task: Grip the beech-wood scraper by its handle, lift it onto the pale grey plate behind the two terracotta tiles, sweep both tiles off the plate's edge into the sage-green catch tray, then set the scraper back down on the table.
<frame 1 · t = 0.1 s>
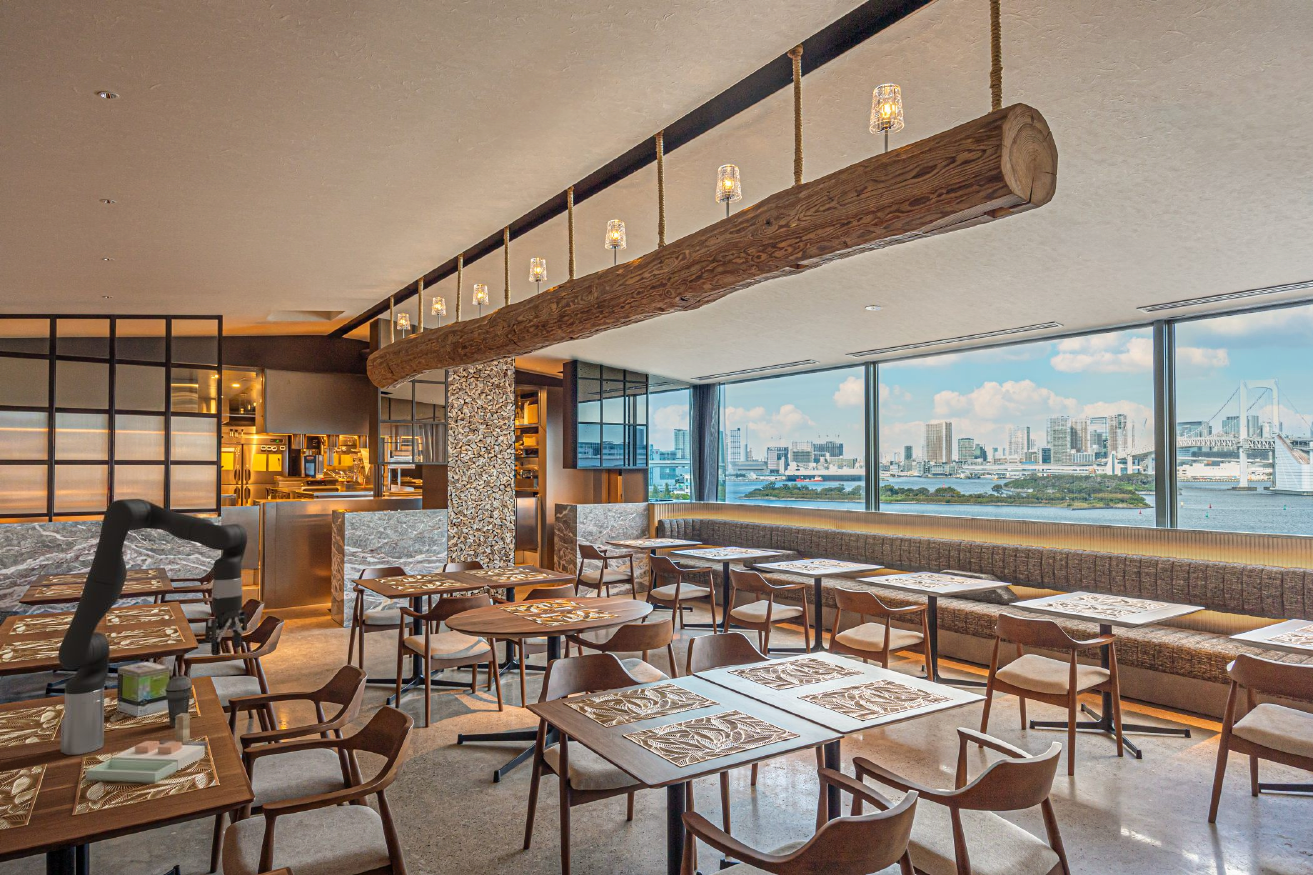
hand: (226, 651, 215), 29 cm above the table, tool pointing down, fingers open, 8 cm apart
catch tray: (132, 775, 199), on the table
tile b: (170, 750, 209), point 3 cm above the table, touching stone plate
tile a: (147, 750, 209), point 3 cm above the table, touching stone plate
scraper: (182, 749, 218), on the table
stone plate: (158, 762, 208), on the table
beverage cup: (178, 725, 239), on the table
tea box: (142, 710, 255), on the table
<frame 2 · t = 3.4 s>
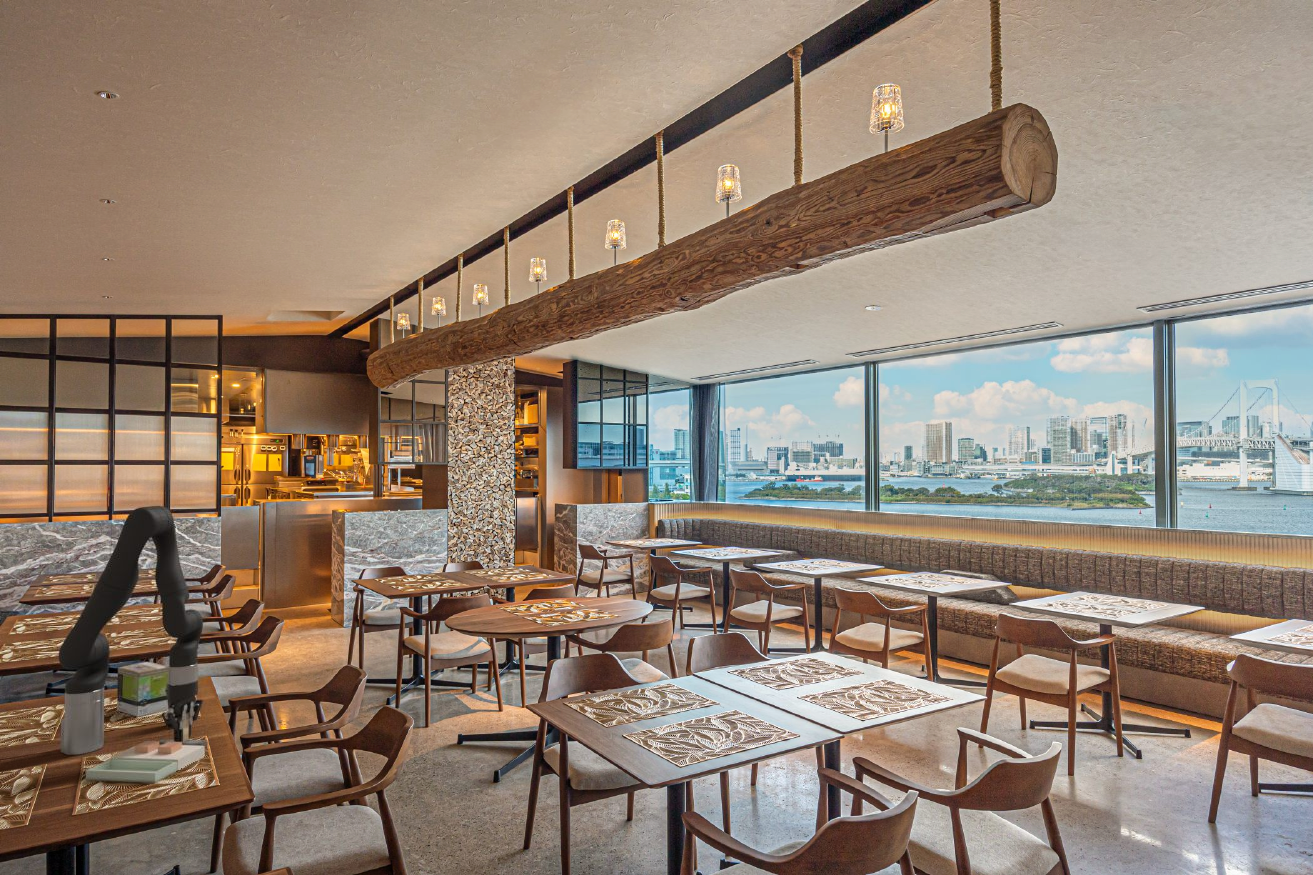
hand: (182, 739, 218), 3 cm above the table, tool pointing down, fingers closed on scraper, 2 cm apart
scraper: (181, 748, 218), on the table, touching gripper
everything else where it was.
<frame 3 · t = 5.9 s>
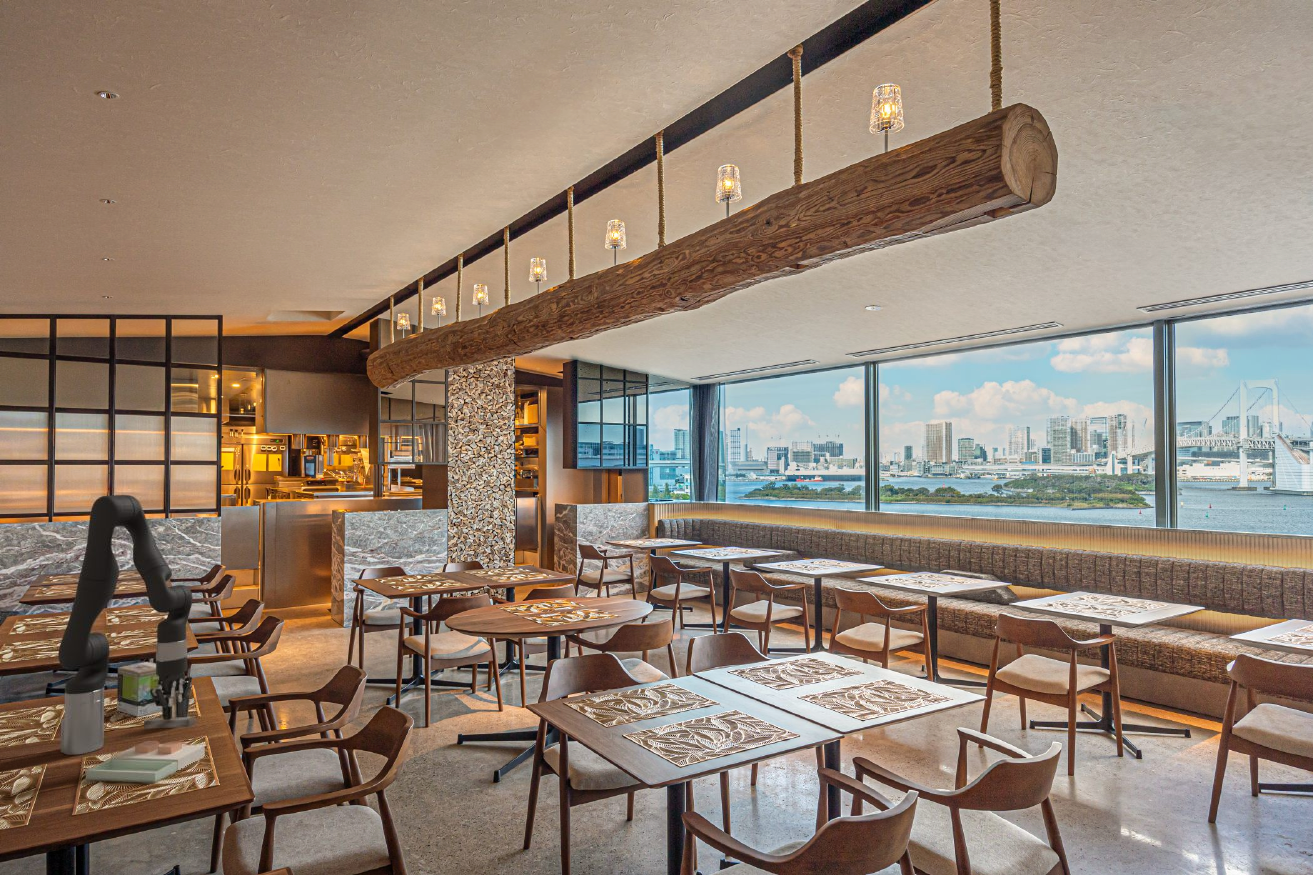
hand: (171, 717, 214), 11 cm above the table, tool pointing down, fingers closed on scraper, 2 cm apart
scraper: (169, 726, 214), point 8 cm above the table, touching gripper
everything else where it was.
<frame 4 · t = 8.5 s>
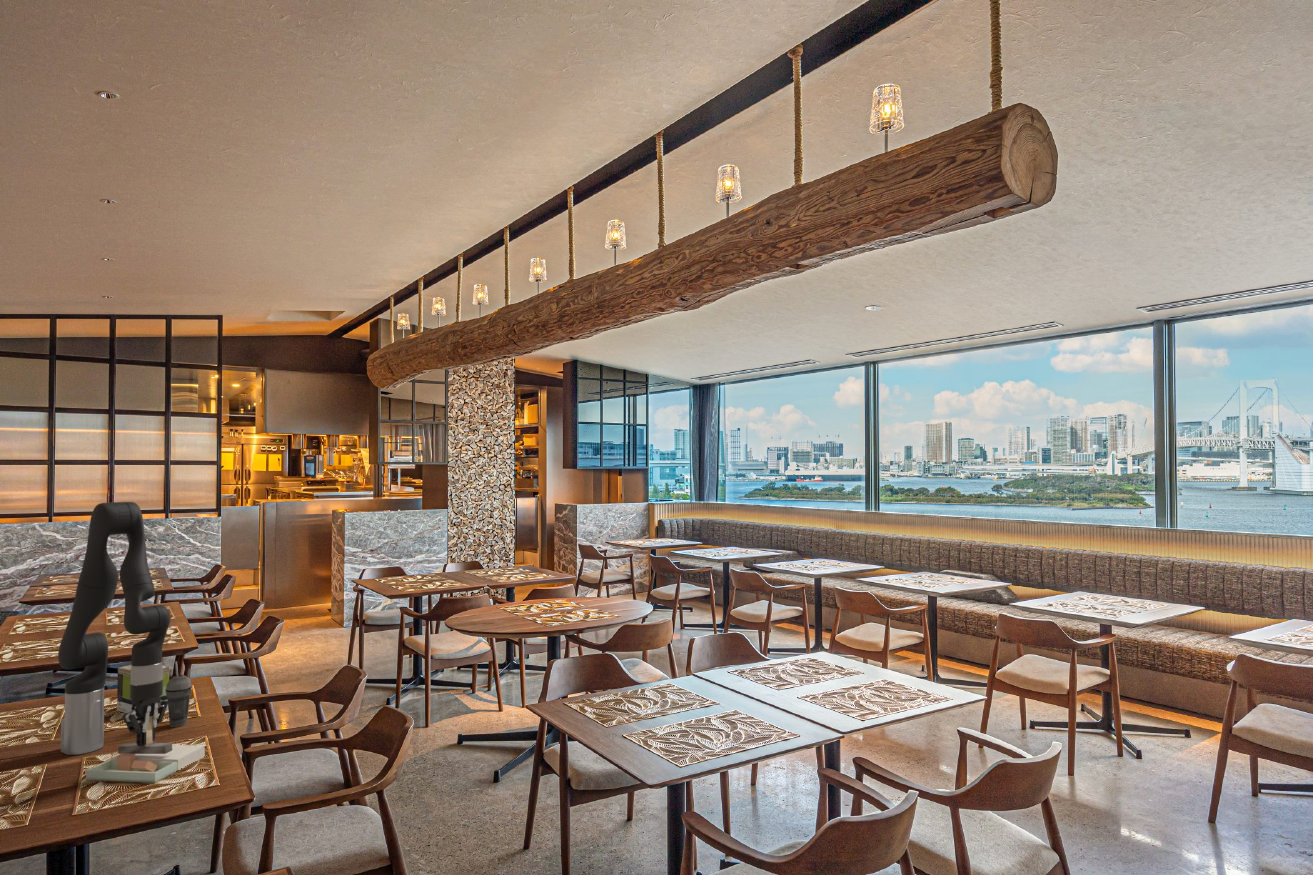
hand: (145, 743, 205), 6 cm above the table, tool pointing down, fingers closed on scraper, 2 cm apart
tile b: (146, 762, 200), point 3 cm above the table, tilted 141°
tile a: (128, 760, 203), point 2 cm above the table, tilted 90°, touching catch tray
scraper: (145, 752, 205), point 4 cm above the table, touching gripper
everything else where it was.
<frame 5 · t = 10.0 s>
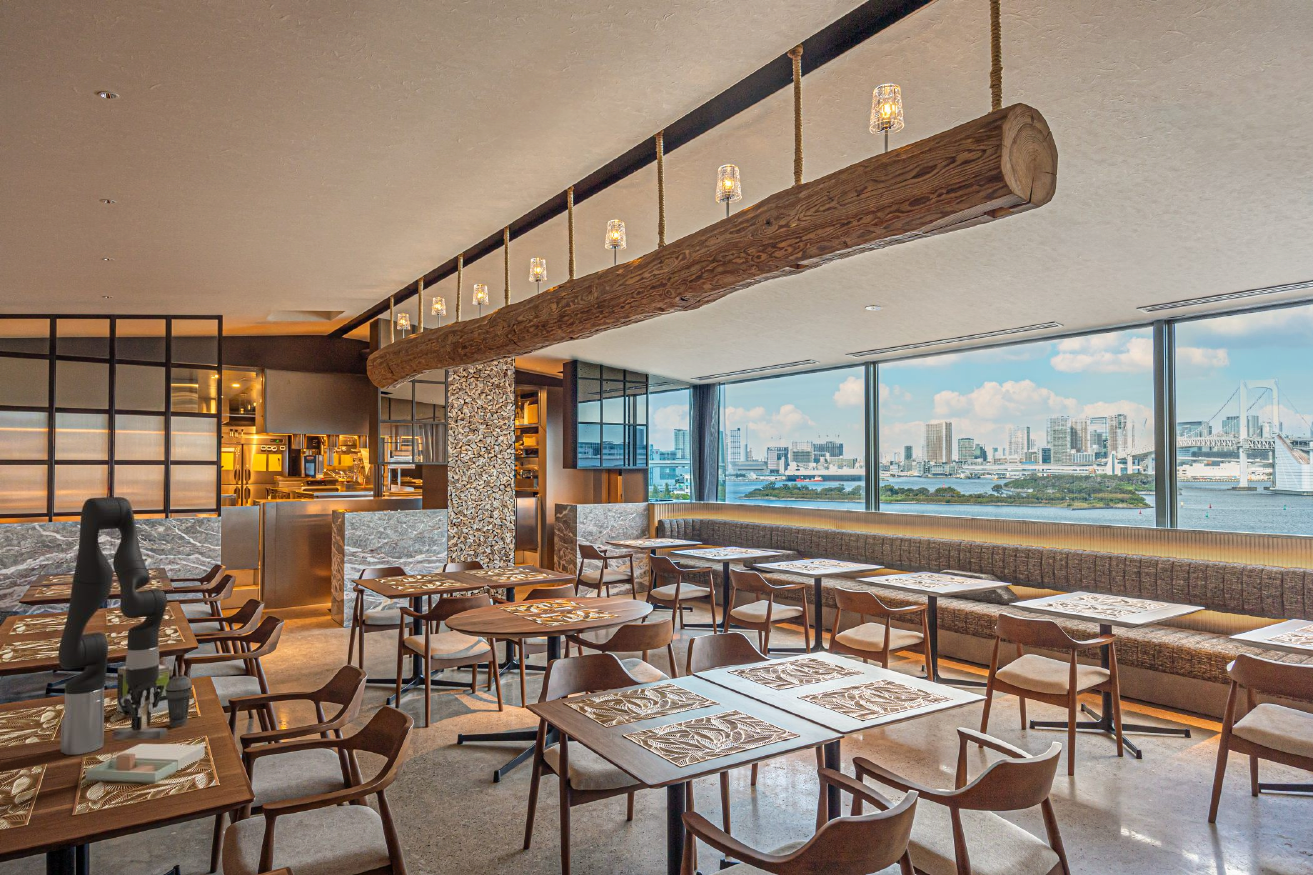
hand: (140, 727, 204), 11 cm above the table, tool pointing down, fingers closed on scraper, 2 cm apart
tile b: (141, 768, 198), point 2 cm above the table, tilted 180°, touching catch tray
scraper: (140, 737, 204), point 9 cm above the table, touching gripper
everything else where it was.
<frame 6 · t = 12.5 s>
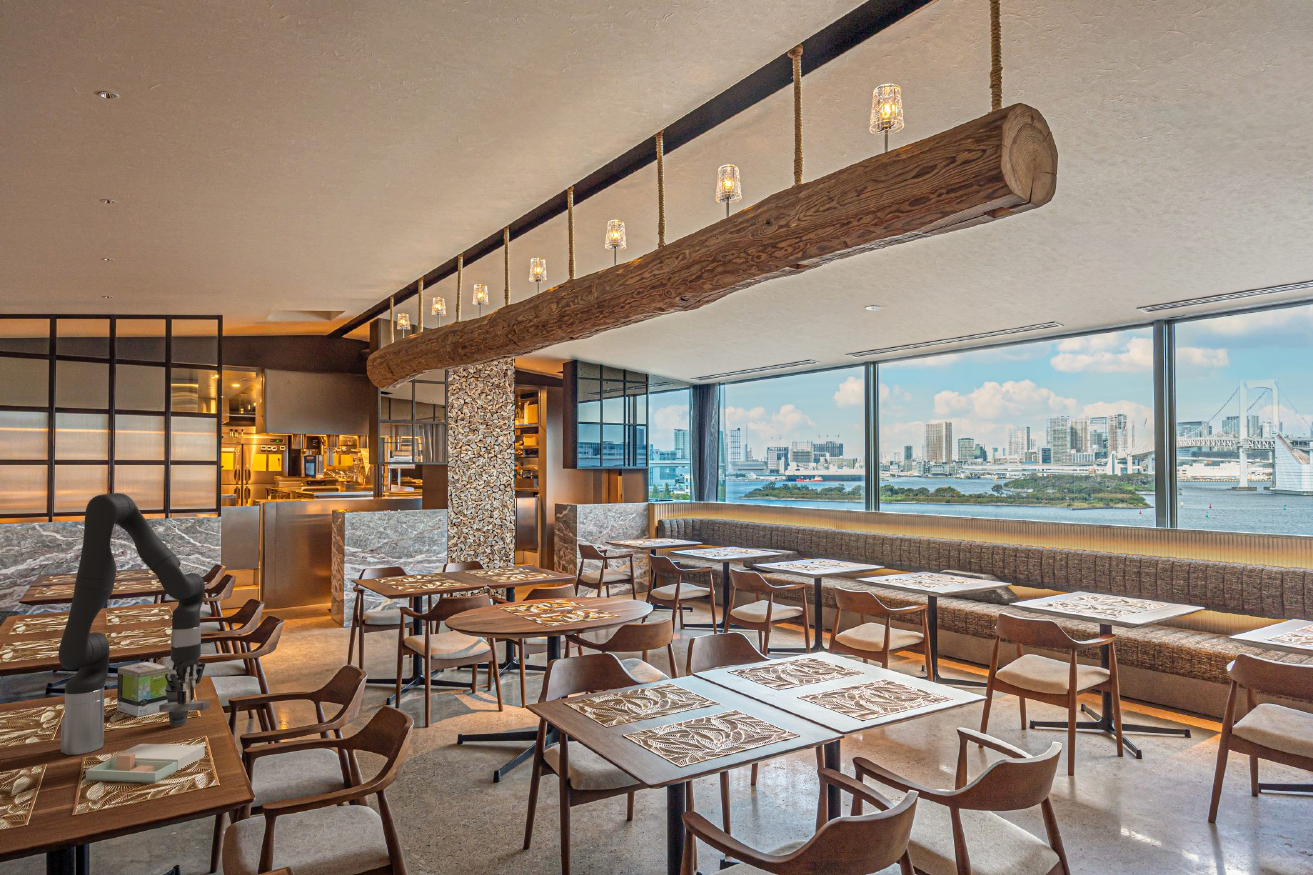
hand: (185, 701, 220), 13 cm above the table, tool pointing down, fingers closed on scraper, 2 cm apart
scraper: (184, 709, 220), point 11 cm above the table, touching gripper
everything else where it was.
when the fingers open (4 cm above the table, at t = 14.3 s): scraper drops 2 cm, on the table.
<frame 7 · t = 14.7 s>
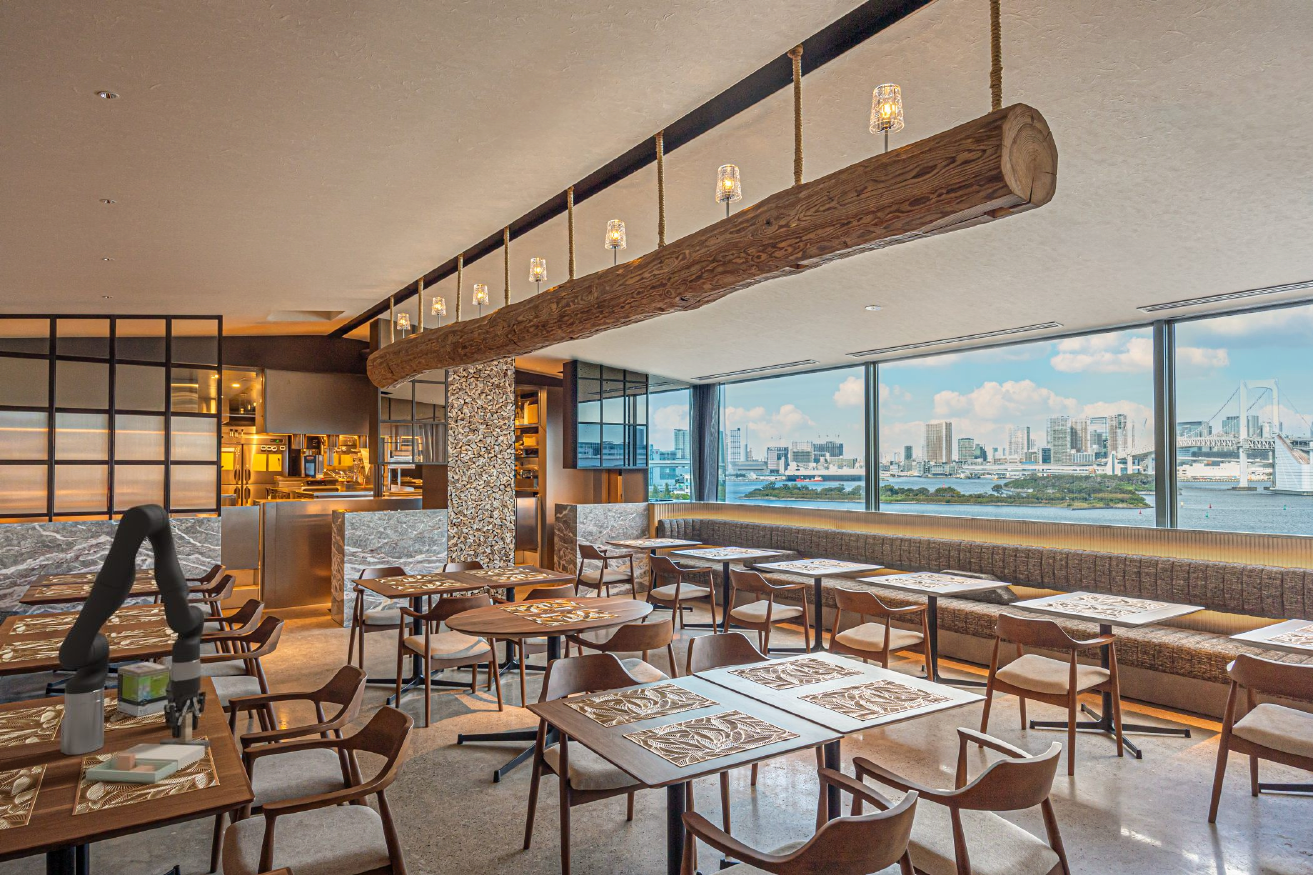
hand: (185, 733, 219), 4 cm above the table, tool pointing down, fingers open, 6 cm apart
scraper: (184, 748, 219), on the table
everything else where it was.
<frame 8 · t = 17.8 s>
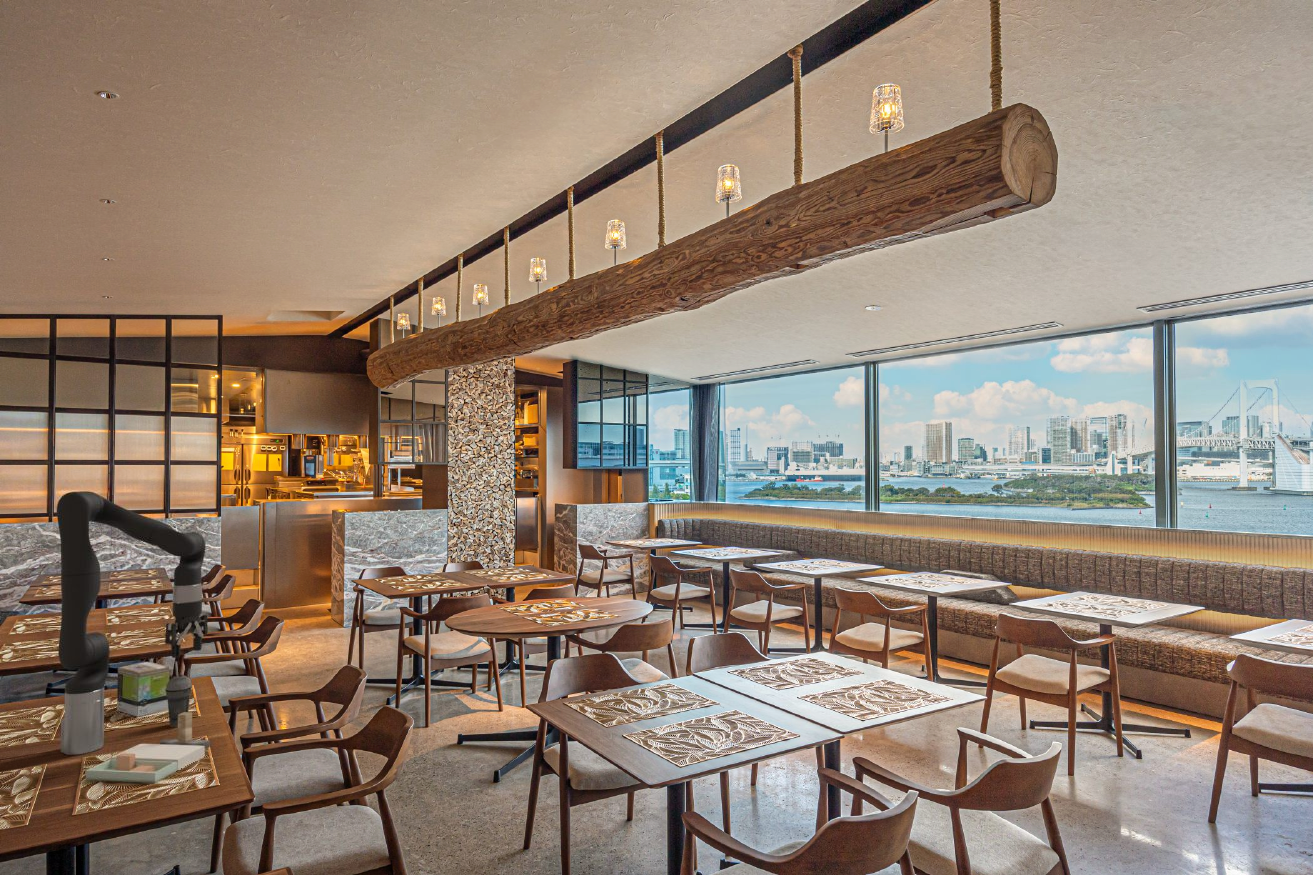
hand: (186, 653, 225), 26 cm above the table, tool pointing down, fingers open, 8 cm apart
nothing on the table moved.
at the end: tile a inside the target area on the catch tray (5.0 cm from its centre), point 2.5 cm above the catch tray's base; tile b inside the target area on the catch tray (3.5 cm from its centre), point 2.3 cm above the catch tray's base; scraper inside the target area (0.2 cm from its centre), on the table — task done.
